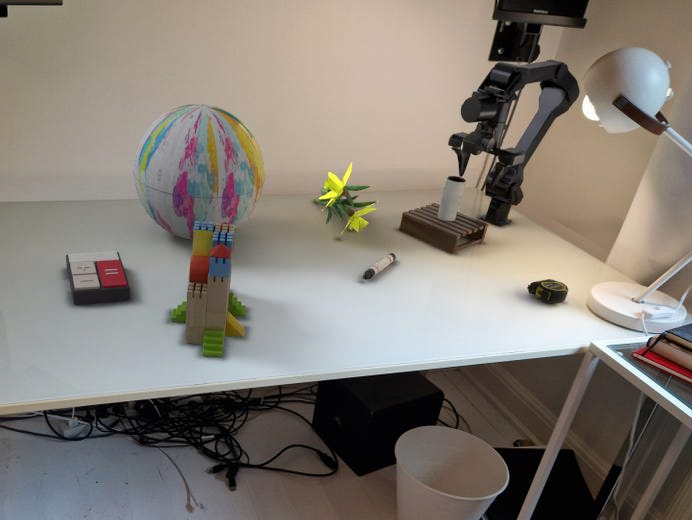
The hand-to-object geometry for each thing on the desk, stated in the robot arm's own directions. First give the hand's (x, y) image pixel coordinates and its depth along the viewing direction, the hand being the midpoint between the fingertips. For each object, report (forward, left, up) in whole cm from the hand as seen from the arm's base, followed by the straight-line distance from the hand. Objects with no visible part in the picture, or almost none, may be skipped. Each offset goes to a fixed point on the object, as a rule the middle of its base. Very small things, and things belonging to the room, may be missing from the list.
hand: (476, 181), depth 167 cm
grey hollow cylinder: (+10, 0, -8) cm, 13 cm away
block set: (+86, -1, -13) cm, 87 cm away
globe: (+65, -33, -13) cm, 74 cm away
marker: (+41, +4, -13) cm, 43 cm away
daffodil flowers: (+29, -22, -13) cm, 38 cm away
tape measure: (+18, +33, -13) cm, 40 cm away
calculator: (+98, -23, -13) cm, 101 cm away
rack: (+10, 0, -13) cm, 16 cm away
